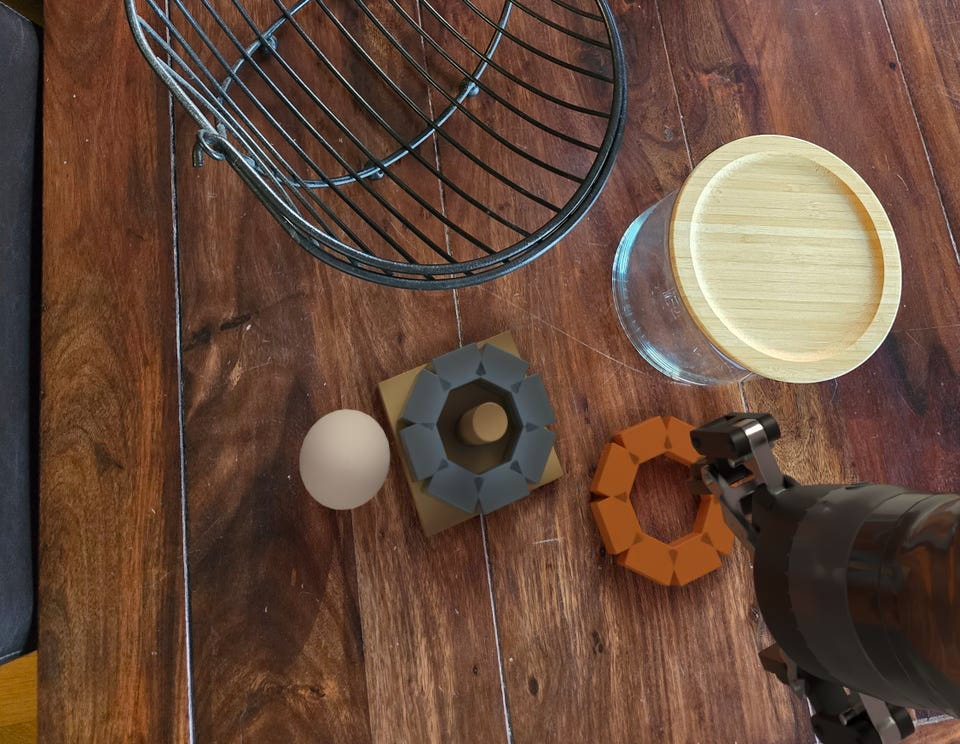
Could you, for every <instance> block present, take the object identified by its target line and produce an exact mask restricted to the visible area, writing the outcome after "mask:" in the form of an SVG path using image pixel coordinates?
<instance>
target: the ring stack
mask: <svg viewBox="0 0 960 744" xmlns="http://www.w3.org/2000/svg"><path fill="white" fill-rule="evenodd" d="M530 365H531V363H530V362H529V361H526V360H525V359H523V358H521V356H520V353H519V351H518V347H517V345H516V343H515V340H514V337H513V335H512V332H511V330H510V329H508V330H506V331H503V332H500V333H498V334H496V335H493V336H491V337H488V338H486V339H483V340H481V341H478V342H476V341H473V342H471V343H469V344H466V345H463V346H461V347H459V348H456V349H454V350H451V351H449V352H447V353H443V354H441V355H439V356H437V357H434V358H432V359H431V360H429V362H426V363H424V364H422V365H419V366H417V367H414V368H412V369H410V370H407V371H404V372H403V373H400V374H397V375H395V376H392V377H390V378H388V379H385V380H383V381H380V382H378V383H377V384H376V388H377V391H378V394H379V398H380V400H381V403H382V407H383V410H384V412H385V416H386V419H387V422H388V425H389V428H390V432H391V434H392V437H393V441H394V443H395V448H396V450H397V453H398V456H399V459H400V462H401V465H402V469H403V471H404V475H405V477H406V482H407V484H408V487H409V491H410V493H411V496H412V500H413V502H414V503H413V504H414V505H415V509H416V512H417V516H418V518H419V521H420V525H421V527H422V531H423V534H424V536H425V538H430V537H432V536H435V535H436V534H439V533H441V532H443V531H446V530H448V529H449V528H452V527H455V526H456V525H459V524H460V523H463V522H465V521H467V520H469V519H472V518H474V517H476V516H478V515H484V516H485V515H488V514H490V513H492V512H495V511H497V510H499V509H501V508H504V507H505V506H508V505H511V504H512V503H514V502H517V501H519V500H521V499H523V498H526V497H528V496H530V495H531V491H533V490H535V489H539V488H540V487H542V486H544V485H547V484H548V483H551V482H553V481H556V480H558V479H560V478H562V477H564V476H565V474H564V470H563V468H562V466H561V464H560V461H559V458H558V454H557V453H556V450H555V447H554V445H555V442H556V438H557V433H555V432H554V431H551V430H550V429H548V428H547V427H548V426H550V425H552V424H554V423H557V417H556V414H555V412H554V409H553V407H552V405H551V401H550V399H549V397H548V393H547V392H546V389H545V386H544V383H543V381H542V378H541V375H540V373H539V372H535V373H532V374H531V375H527V373H528V371H529V368H530Z"/></svg>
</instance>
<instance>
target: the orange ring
mask: <svg viewBox="0 0 960 744" xmlns="http://www.w3.org/2000/svg"><path fill="white" fill-rule="evenodd" d="M696 428H697V427H695V426H693V425H691V424H689V423H686V422H685V421H683V420H681V419H680V418H679V419H678V418H676V417H674V416H670V415H669V416H666V417H662V416H661V415H657V416H651V417H649V418H647V419H645V420H643V421H640V422H638V423H636V424H634V425H632V426H629V427H627V428H625V429H622V430H621V431H618V432H616V433H614V434H612V438H613V441H614V442H610V443H608V442H607V443H605V444H604V445H603V448H602V452H601V455H600V458H599V460H598V463H597V465H596V469H595V471H594V475H593V478H592V482H591V484H590V487H589V491H590V492H591V493H593V494H595V495H598V496H599V498H597V499H595V500H593V501H591V502H589V507H590V510H592V511H591V512H592V514H593V517H594V520H595V522H596V525H597V527H598V531H599V532H600V536H601V538H602V541H603V543H604V546H605V548H606V551H607V553H608V554H612V555H618V557H617V560H616V563H617V564H618V565H620V566H622V567H624V568H626V569H628V570H630V571H632V572H634V573H636V574H638V575H640V576H641V577H643V578H646V579H648V580H649V581H652V582H654V583H657V584H658V585H661V586H665V587H669V586H670V585H673V586H677V587H684V586H685V585H686V584H689V583H691V582H693V581H695V580H697V579H699V578H701V577H703V576H705V575H707V574H709V573H711V572H713V571H715V570H718V569H719V568H721V567H723V564H722V561H721V559H720V556H725V557H730V556H731V553H732V549H733V546H734V543H735V538H736V536H735V535H734V534H733V532H732V531H731V530H730V529H729V528H728V526H727V525H726V524H725V523H724V521H723V516H722V511H721V505H720V502H719V501H718V499H717V498H716V497H715V496H714V495H713V494H712V495H699V497H700V503H699V506H698V510H697V514H696V517H695V519H694V524H693V526H692V531H691V532H689V533H687V534H686V535H684V536H682V537H679V538H677V539H675V540H674V541H671V542H668V543H665V542H663V541H661V540H658V539H657V538H654V537H653V536H651V535H649V534H646V533H645V532H643V530H642V527H641V525H640V522H639V521H638V517H637V515H636V512H635V509H634V507H633V505H632V502H631V499H630V495H631V491H632V488H633V485H634V482H635V480H636V476H637V473H638V469H639V467H640V465H641V464H643V463H645V462H647V461H650V460H651V459H654V458H656V457H659V456H660V455H664V456H666V457H667V458H670V459H672V460H674V461H676V462H677V463H680V464H682V465H684V466H686V467H688V470H689V473H690V475H691V476H692V474H691V472H690V469H689V467H690V464H692V463H694V462H696V461H698V460H700V459H703V458H705V457H706V456H703V455H700V454H698V452H697V451H696V450H695V449H694V447H693V446H692V443H691V438H690V431H692V430H694V429H696ZM739 485H740V484H739V482H736V483H734V484H732V485H730V486H732V487H737V486H739Z"/></svg>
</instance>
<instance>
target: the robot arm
mask: <svg viewBox="0 0 960 744" xmlns="http://www.w3.org/2000/svg"><path fill="white" fill-rule="evenodd" d="M695 428H696V429H694V430H692V431H690V438H691V443H692V446H693V447H694V449H695V450H696V451H697V452H698V454H700V455H703V456H706V457H705V458H703V459H700V460H698V461H696V462H694V463H692V464H690V467H689V468H688V470H689V469H690V470H689V473H690V472H691V473H690V475H691V474H692V475H691V477H689V478H687V479H686V480H685V483H686V485H687V489H688V490H689V492H690V494H691V495H698V496H700V495H712V494H713V495H714V496H715V497H716V498H717V499H718V501H719V502H720V505H721V511H722V516H723V521H724V523H725V524H726V525H727V526H728V528H729V529H730V530H731V531H732V532H733V534H734V535H735V538H736V539H737V540H738V541H739V542H740V544H741V545H742V546H743V547H744V548H745V550H746V551H747V552H748V556H749V560H750V564H751V565H752V575H753V577H752V579H753V588H754V593H755V599H756V603H757V606H758V608H759V612H760V615H761V617H762V619H763V622H764V623H765V626H766V628H767V630H768V631H769V633H770V635H771V637H772V638H773V640H774V643H771V645H769V646H767V647H765V648H763V649H761V650H760V651H759V652H758V653H757V656H758V658H759V661H760V663H761V666H762V668H763V670H764V671H766V672H769V673H772V674H774V675H775V678H777V680H778V681H779V682H780V683H781V684H782V685H785V686H788V687H790V689H791V691H792V692H793V693H794V694H795V696H796V697H797V698H798V699H799V701H803V700H805V699H808V701H809V702H810V704H811V707H812V708H813V710H814V712H815V713H814V714H812V715H811V716H809V717H810V718H809V720H810V724H811V728H812V731H813V734H814V735H815V737H816V738H817V739H818V740H819V742H820V743H821V744H899V743H900V742H902V741H903V740H905V739H907V738H908V737H910V736H911V735H913V734H915V733H916V727H915V723H914V721H913V718H912V716H911V715H910V713H909V711H908V710H907V709H910V710H917V711H934V712H936V713H939V714H942V715H946V716H948V717H950V718H954V719H956V720H959V721H960V491H929V490H928V491H927V490H922V489H919V488H915V487H911V486H907V485H901V484H890V483H877V482H874V481H870V480H864V481H863V480H862V481H856V482H855V481H854V482H852V483H815V484H805V485H803V484H801V483H800V482H799V481H798V480H797V479H795V478H794V477H792V476H791V475H789V474H784V473H782V470H781V468H780V467H779V463H778V462H777V460H776V456H775V455H774V452H773V449H775V447H776V443H775V441H778V440H780V439H781V437H782V432H781V428H780V425H779V423H778V421H777V420H776V419H775V417H774V416H773V415H772V413H770V412H749V411H747V412H746V411H745V412H744V411H731V412H728V413H725V414H724V415H722V416H720V417H717V418H715V419H713V420H711V421H709V422H707V423H705V424H702V425H701V426H698V427H695ZM745 479H746V480H747V481H745V482H743V483H741V484H738V485H739V486H737V487H732V486H730V485H732V484H734V483H736V482H737V483H739V482H741V481H742V480H745ZM749 516H751V519H750V520H749V519H748V517H749ZM845 688H846V689H848V690H849V694H847V691H846V689H845Z"/></svg>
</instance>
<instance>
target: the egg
mask: <svg viewBox="0 0 960 744" xmlns="http://www.w3.org/2000/svg"><path fill="white" fill-rule="evenodd" d="M298 458H299V473H300V477H301V480H302V483H303V485H304V488H305V489H306V490H307V492H308V493H309V495H310V496H311V497H312V498H313V499H314V500H315V501H316V502H318V503H319V504H321V505H322V506H324V507H326V508H329V509H333V510H336V511H337V510H338V511H339V510H341V511H344V510H353V509H355V508H358V507H361V506H363V505H365V504H366V503H368V502H369V501H371V500H372V499H373V498H375V496H376V495H377V493H378V492H379V491H380V489H381V488H382V487H383V485H384V483H385V481H386V480H387V477H388V473H389V470H390V467H391V465H390V464H391V451H390V445H389V440H388V438H387V436H386V433H385V431H384V429H383V428H382V426H381V425H380V423H378V421H377V420H376V419H374V418H373V416H372V415H371V416H370V415H368V414H367V413H365V412H363V411H360V410H355V409H348V408H345V409H338V410H334V411H331V412H329V413H327V414H325V415H323V416H322V417H321V418H319V419H318V420H317V421H316V422H315V423H314V424H313V425H312V426H311V427H310V428H309V431H308V432H307V433H306V435H305V436H304V438H303V442H302V445H301V448H300V452H299V457H298Z"/></svg>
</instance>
